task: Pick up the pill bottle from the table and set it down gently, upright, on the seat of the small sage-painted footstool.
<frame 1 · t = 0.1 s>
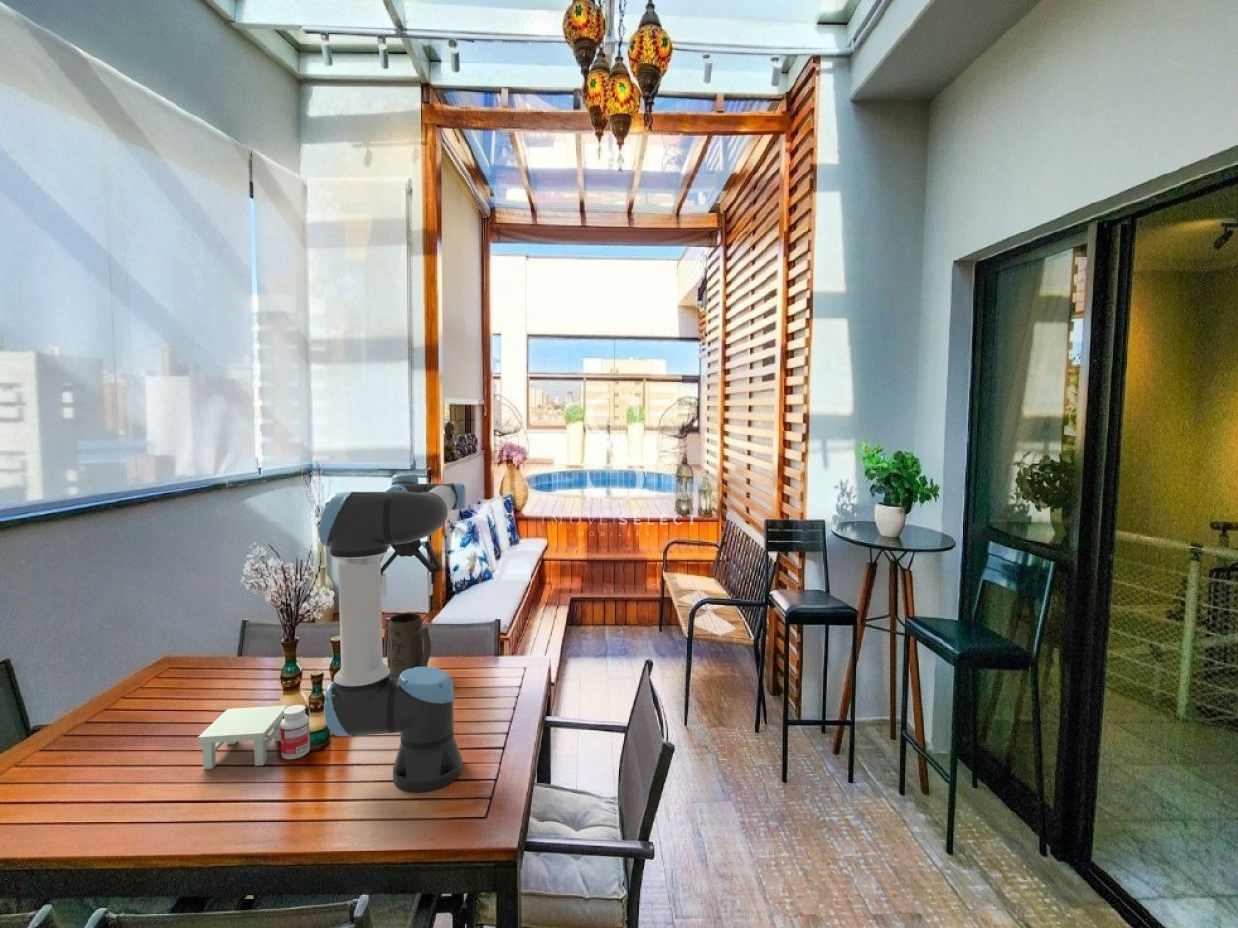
hand: (407, 595, 184), 28 cm above the table, fingers open, 13 cm apart
pill bottle: (295, 754, 148), on the table
footstool: (246, 752, 148), on the table
beer stein: (412, 680, 190), on the table
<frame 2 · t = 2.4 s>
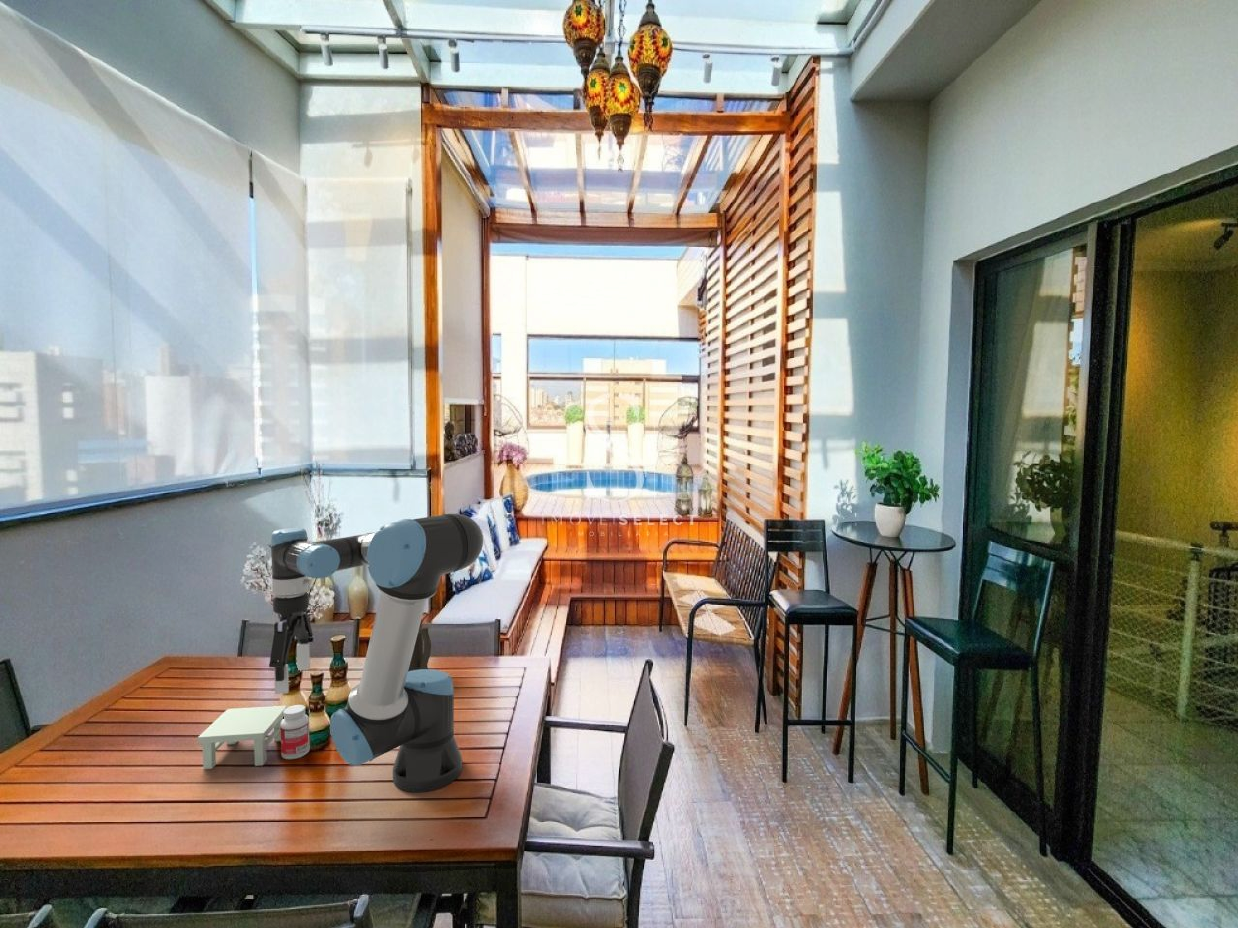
hand: (293, 680, 147), 18 cm above the table, fingers open, 13 cm apart
nothing on the table moved.
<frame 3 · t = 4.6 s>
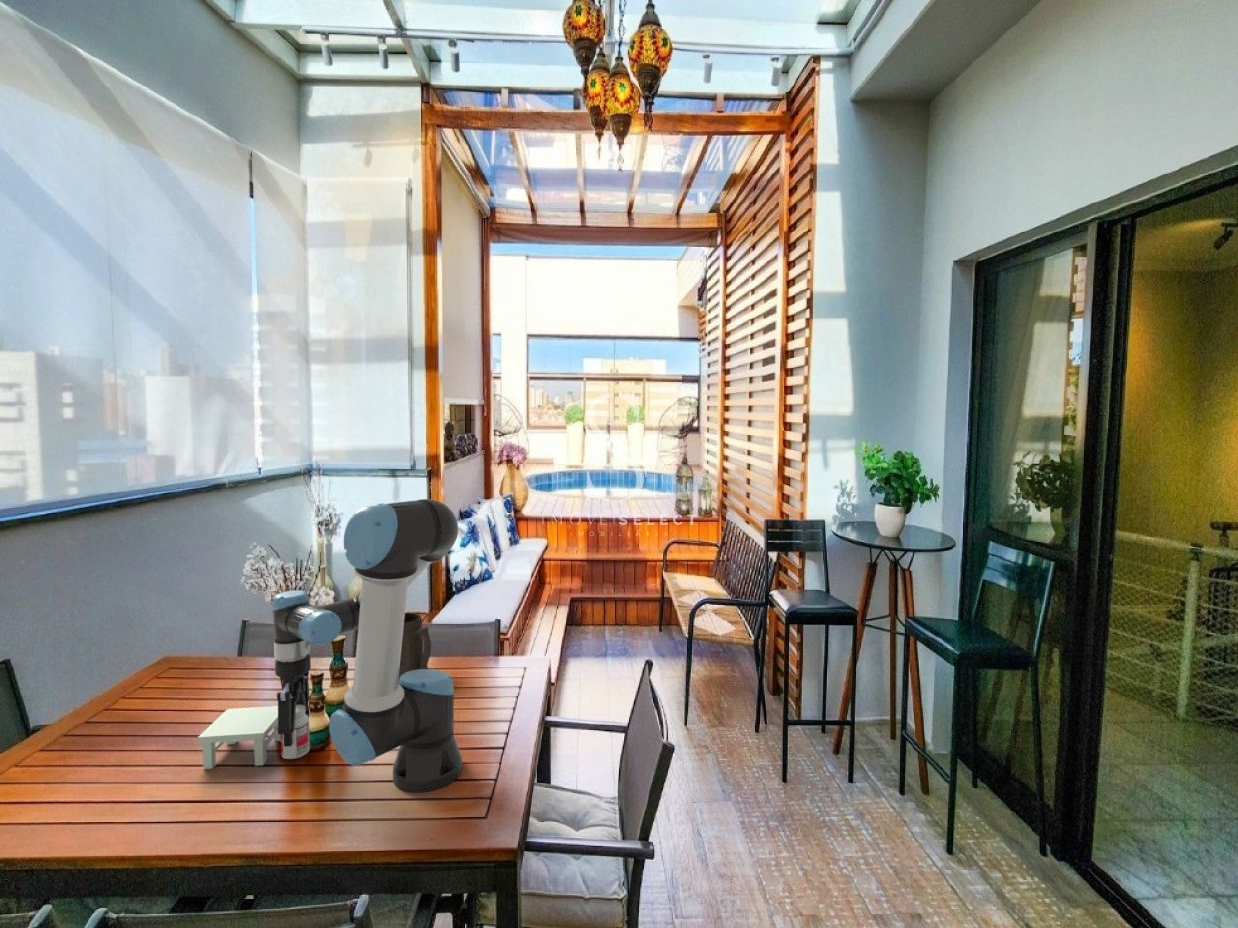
hand: (295, 749, 148), 1 cm above the table, fingers closed on pill bottle, 6 cm apart
pill bottle: (295, 753, 148), on the table, touching gripper
everything else where it was.
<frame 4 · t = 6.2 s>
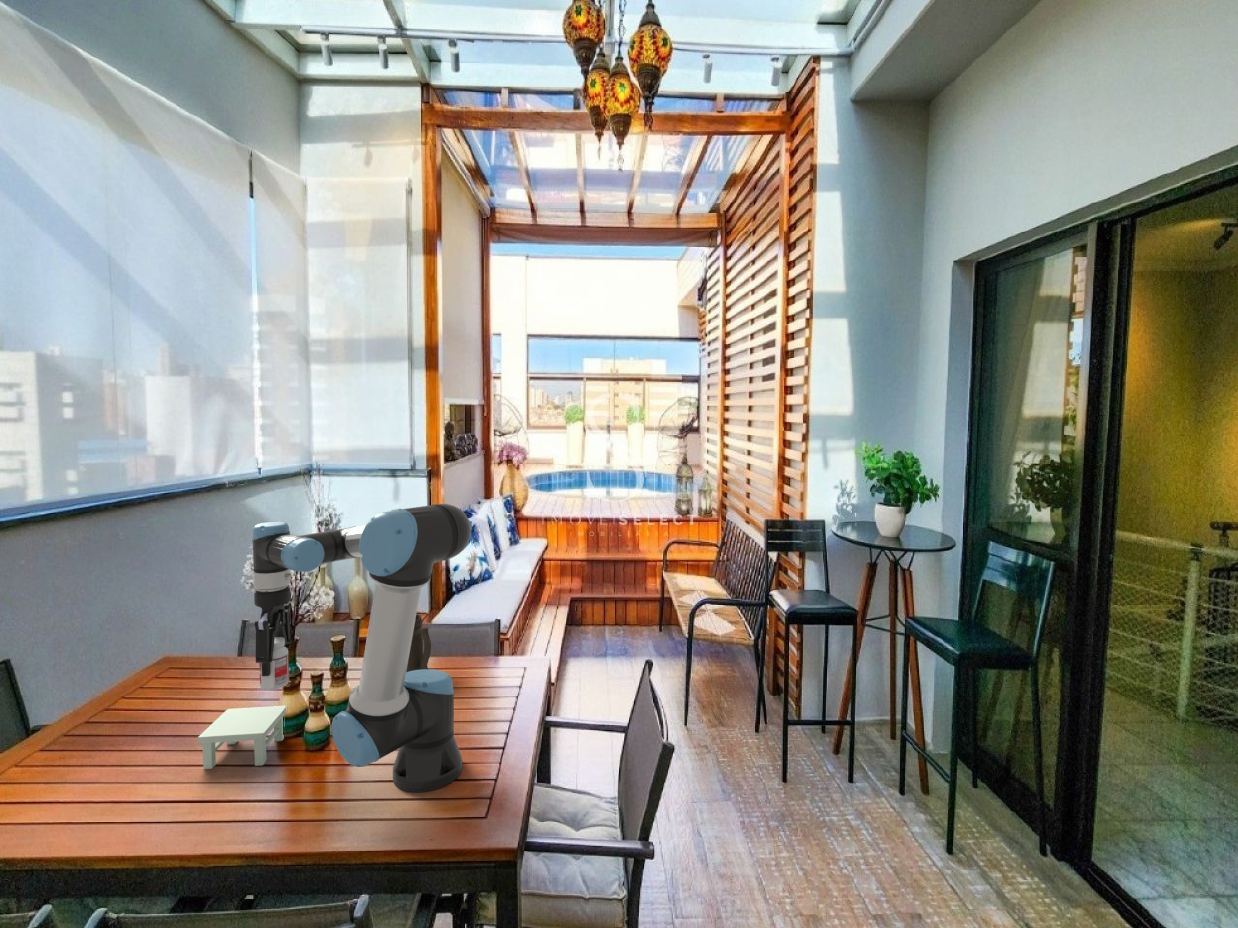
hand: (274, 681, 147), 18 cm above the table, fingers closed on pill bottle, 6 cm apart
pill bottle: (274, 685, 147), point 16 cm above the table, touching gripper
everything else where it was.
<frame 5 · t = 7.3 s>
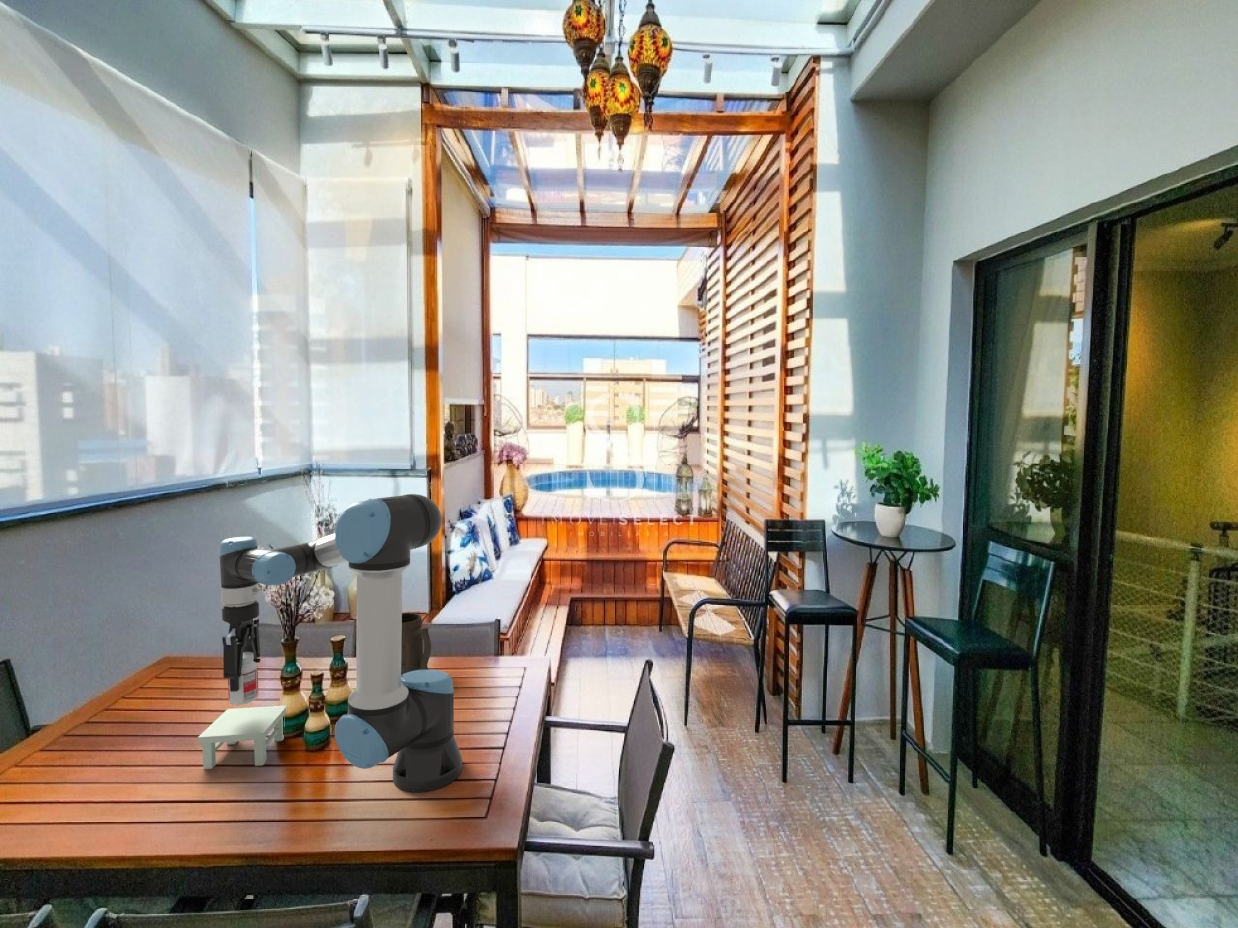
hand: (243, 696, 147), 14 cm above the table, fingers closed on pill bottle, 6 cm apart
pill bottle: (243, 700, 147), point 13 cm above the table, touching gripper
everything else where it was.
when the fingers open (10 cm above the table, at t = 8.3 s): pill bottle stays where it is, resting on footstool.
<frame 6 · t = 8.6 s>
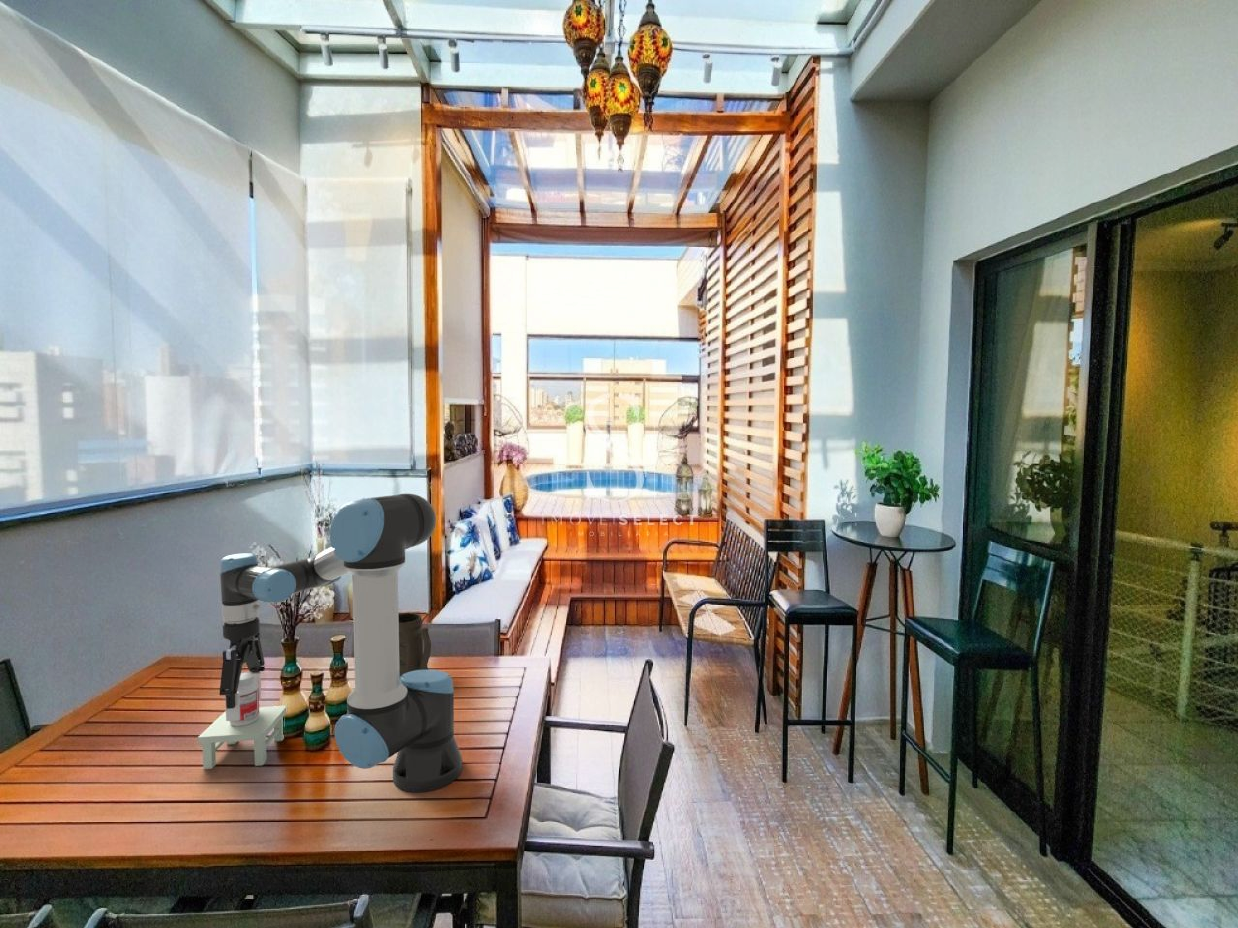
hand: (244, 708, 147), 11 cm above the table, fingers open, 10 cm apart
pill bottle: (244, 721, 147), point 8 cm above the table, touching footstool
everything else where it was.
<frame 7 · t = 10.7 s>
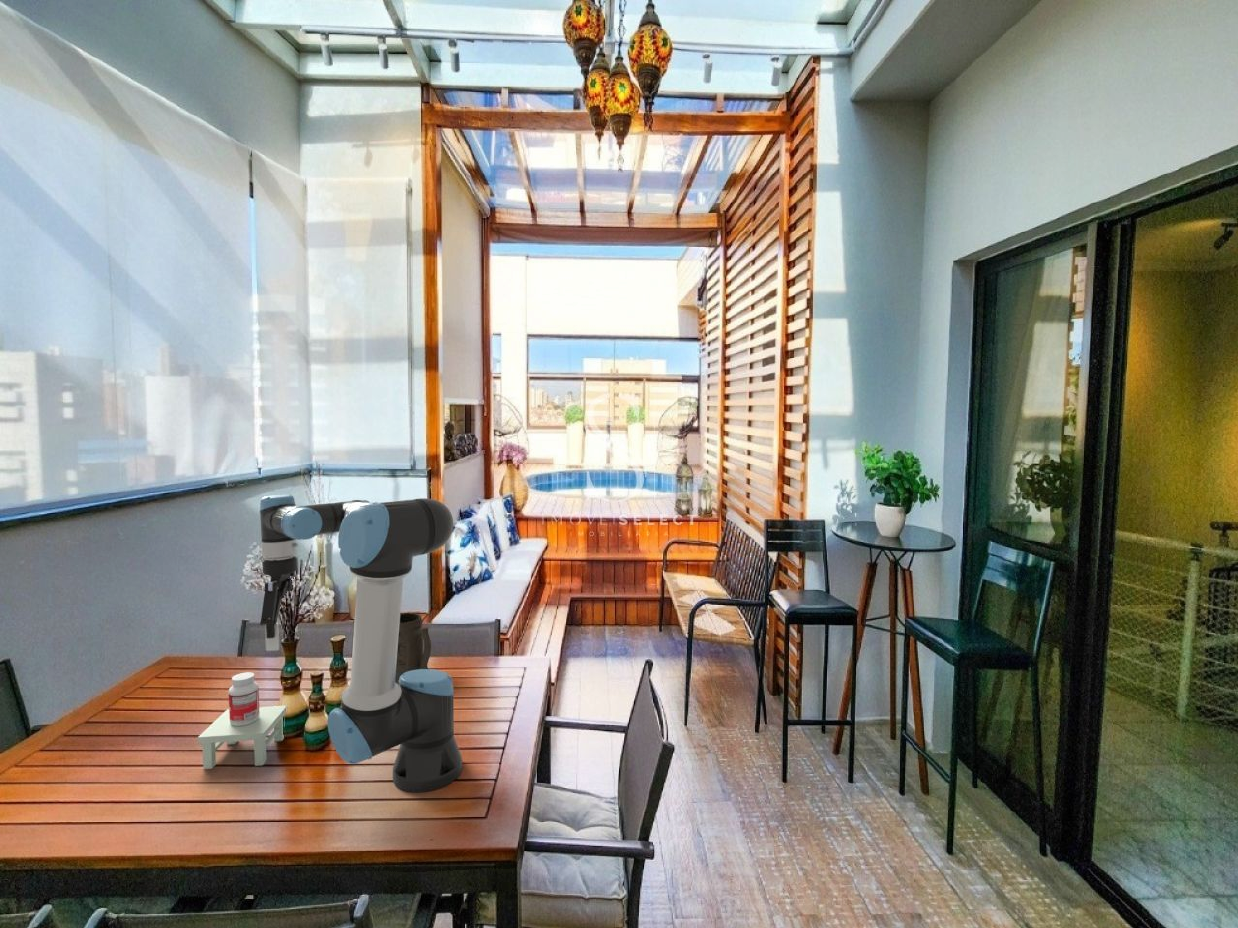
hand: (282, 640, 153), 25 cm above the table, fingers open, 13 cm apart
nothing on the table moved.
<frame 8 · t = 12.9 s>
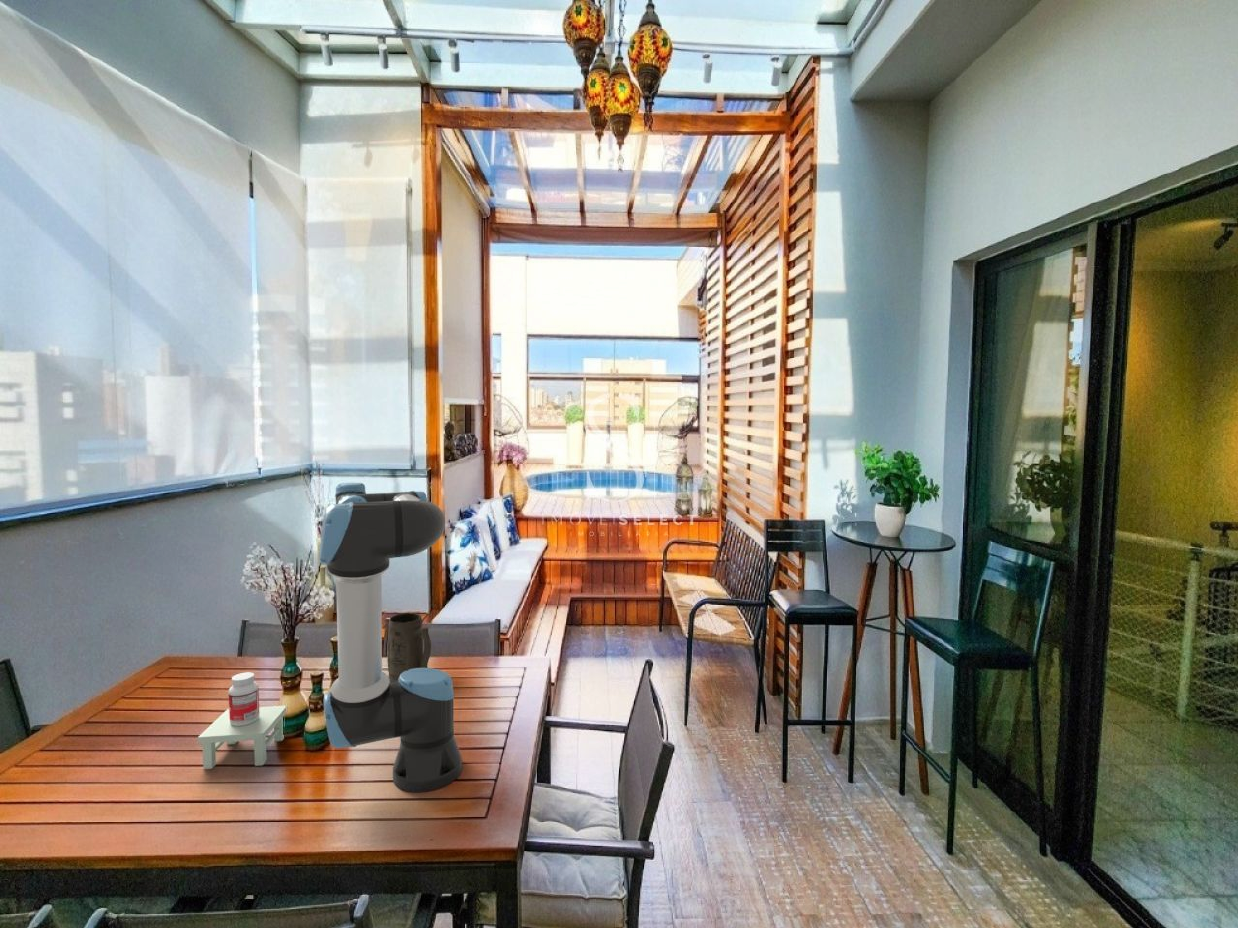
hand: (353, 615, 169), 27 cm above the table, fingers open, 13 cm apart
nothing on the table moved.
at the end: pill bottle inside the target area on the footstool (0.1 cm from its centre), point 7.8 cm above the footstool's base; pill bottle tilted 0°; the gripper is holding nothing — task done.
